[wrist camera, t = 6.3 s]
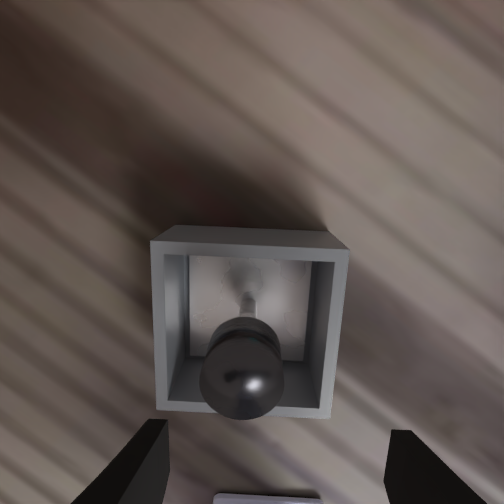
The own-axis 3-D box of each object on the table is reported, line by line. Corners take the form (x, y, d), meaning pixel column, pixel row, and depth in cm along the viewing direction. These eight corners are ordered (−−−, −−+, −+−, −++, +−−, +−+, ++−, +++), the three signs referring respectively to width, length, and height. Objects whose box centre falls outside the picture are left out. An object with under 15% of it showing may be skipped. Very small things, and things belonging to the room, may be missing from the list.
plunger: (302, 357, 20) (326, 464, 13) (191, 351, 20) (152, 454, 13) (311, 249, 19) (346, 301, 11) (190, 243, 19) (144, 291, 11)
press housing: (315, 367, 21) (329, 419, 17) (177, 360, 21) (156, 409, 17) (329, 231, 19) (349, 249, 15) (175, 224, 19) (149, 240, 15)
